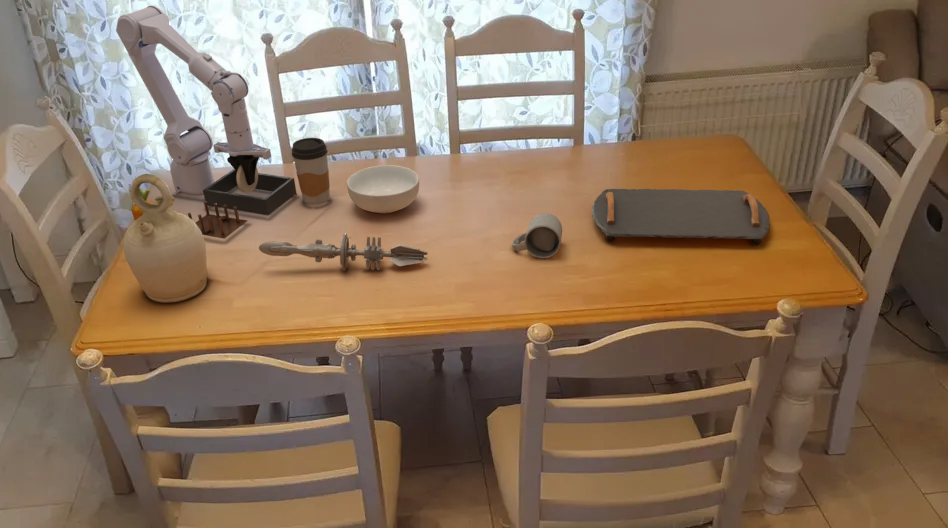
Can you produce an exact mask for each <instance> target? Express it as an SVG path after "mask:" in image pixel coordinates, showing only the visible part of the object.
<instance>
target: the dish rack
mask: <svg viewBox="0 0 948 528" xmlns="http://www.w3.org/2000/svg"><path fill="white" fill-rule="evenodd" d="M203 205H204V209H205V214H206V215H204V216H202V214H197V218H198V220H197V221H196V222H195V224H196V225H197V226H198V227H199V229H200V231H201V232H202V235H203V236H207V237H212V238H218V239H222V240H223V239H224V240H225V239H226V238H227V237H229V236H230V235H231V234H233V233H234V232H235V231H237V230H238V229H239V228H240V227H242V226H243V225H245V223H247V222H248V219H241V218H240V217H239V210H237V207H236V206H234V210H233V213H234V216H235V217H230V215H229V211H228V210H229V209H227V206H226V205H223V207H224V208H223V211H224V215H220V211H219V207H218V206H217V203H214V206H213V207H214V211H215V214H211V213H210V210H209V206H208V205H207V202H206V201H205V200H204V201H203ZM187 216H188V217H189V218H191V219H192V220H193V217H192V213H191V212H188V213H187Z"/></svg>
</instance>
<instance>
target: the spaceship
mask: <svg viewBox="0 0 948 528" xmlns="http://www.w3.org/2000/svg"><path fill="white" fill-rule="evenodd" d="M258 250H259V251H260V252H261V253H262V254H265V255H267V256H273V257H289V256H291V255H302V256H304V257H308V258H314V261H315V263H321V262H322V261H323V259H332V260H333V259H335V258H336V257H339V263H340V265H341V269H342V271H343V272H345V271H346V270H347V268H348V267H349V266H348V265H349V260H351V262H355V261H356V258H357V256H362V257H363V259H365V260H364V262H365V269H366V270H370V263H371V271H375V266H376V270H377V271H380V270H381V263H382V260H384V258H390V259H389V260H390V261H389V262H390V263H392V264H394V265H396V266H398V267H404V266H409V265H410V266H411V265H414V264H420V263H423V262H426V261H428V257H426V256H427V255H428V251H427V250H423V249H420V248H417V247H415V246H410V245H408V244H403V243H399V244H397V245H394V246H392V247H390V251H386V250H384V248H382V237H377V243H376V237H374V236H373V237H372V241H371V237H370V236H367V237H366V244H365V247H364V248H363V250H362V249H361V250H360V249H357V246H356V244H355V243H352V244H351V246H350V237H348V234H347V233H346V232H345V233H343V235H342V238H341V240H340V247H338V246H336V245H335V244H332V243H329V244H327V243H323V240H322V239H318V238H316V239H315V243H307V244H301V245H294V244H292V243H291V242H288V241H275V240H273V241H265V242H263V243H261V244H260V245H258Z"/></svg>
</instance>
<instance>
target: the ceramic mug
mask: <svg viewBox="0 0 948 528" xmlns="http://www.w3.org/2000/svg"><path fill="white" fill-rule="evenodd" d="M562 236H563V226H562V222H561V221H560V219H559V218H558V217H557V216H555V215H554V214H552V213H547V212H543V213H540V214H539V213H538V214H537V215H536V216H534V217H533V218H532V220H531V221H530V222H529V224H528V228H527V230H526V232H524V233H521V234H520V235H518V236H517V237H515V238H514V239H513V240H512V243H511V246H512V248H513V250H514V251H515V252H523V251H527V252H528V253H529V254H530V255H531V256H533V257H535V258H536V259H537V258H538V259H549V258H552V257H554V256H555V255H556V254H557V253H558V252H559V250H560V248H561V243H562ZM522 242H523V243H522Z"/></svg>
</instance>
